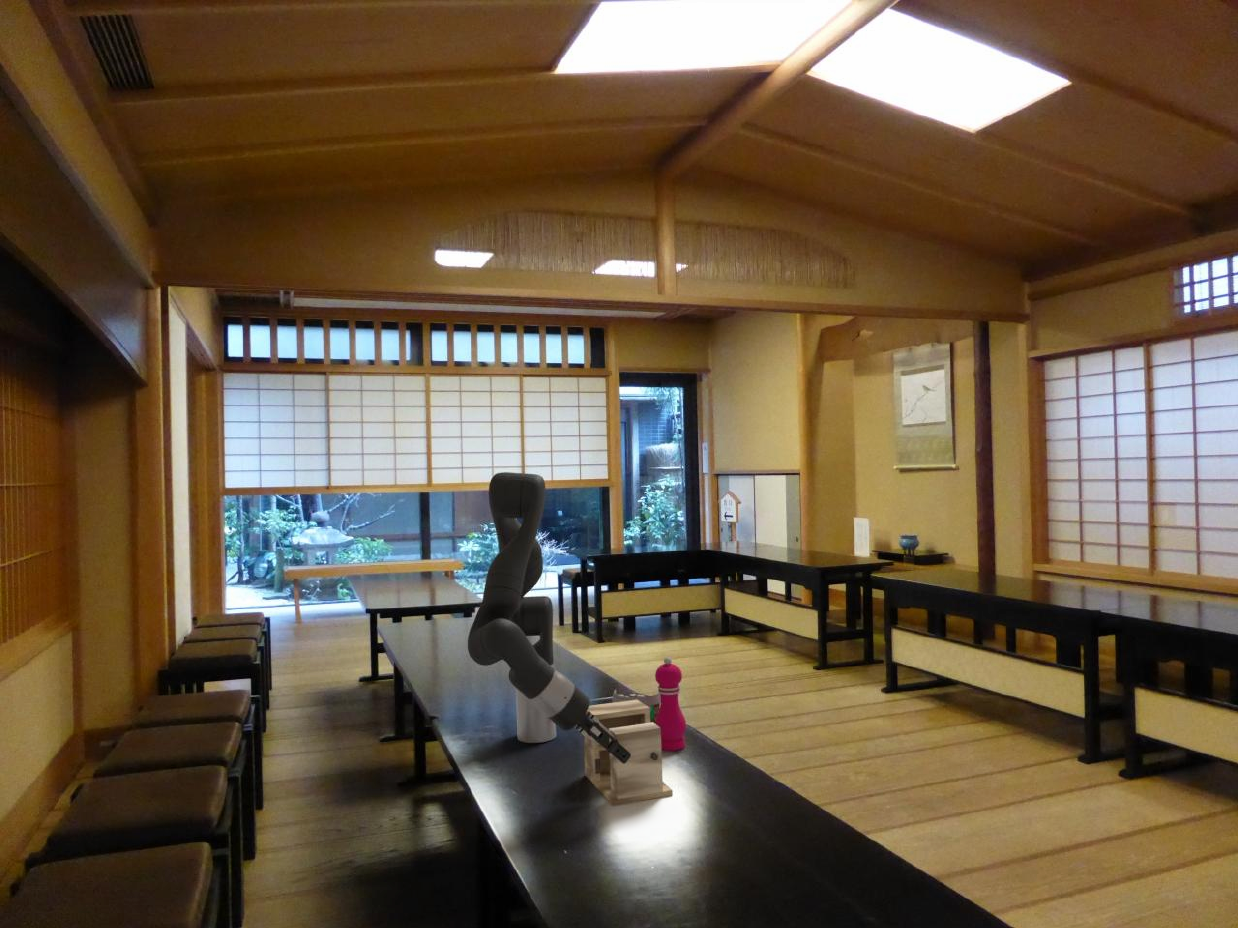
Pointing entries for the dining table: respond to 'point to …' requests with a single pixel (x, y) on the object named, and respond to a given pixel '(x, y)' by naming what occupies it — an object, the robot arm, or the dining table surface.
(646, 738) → the door
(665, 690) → the pepper mill
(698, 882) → the dining table surface
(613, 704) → the cabinet
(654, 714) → the food container
